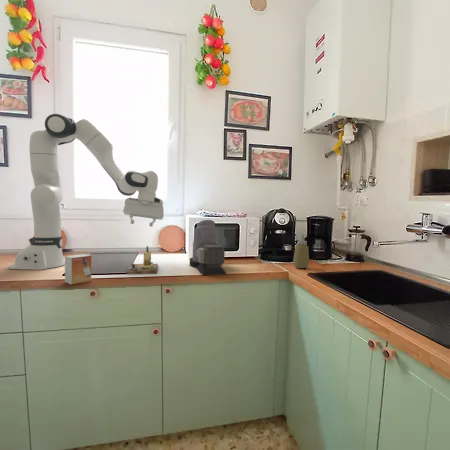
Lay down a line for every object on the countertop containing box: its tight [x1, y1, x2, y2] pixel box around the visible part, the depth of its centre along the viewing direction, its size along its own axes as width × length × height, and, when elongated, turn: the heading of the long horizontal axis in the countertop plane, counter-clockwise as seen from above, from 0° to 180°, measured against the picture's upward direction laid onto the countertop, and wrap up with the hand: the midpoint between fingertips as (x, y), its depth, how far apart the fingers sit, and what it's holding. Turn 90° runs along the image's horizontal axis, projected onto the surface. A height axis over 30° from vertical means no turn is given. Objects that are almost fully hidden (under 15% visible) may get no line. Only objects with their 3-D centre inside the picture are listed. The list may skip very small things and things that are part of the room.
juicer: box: [189, 219, 227, 277], centre depth 143 cm, size 30×16×24 cm, turn 17°
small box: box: [64, 253, 92, 285], centre depth 112 cm, size 8×6×10 cm
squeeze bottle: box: [293, 233, 310, 269], centre depth 149 cm, size 8×8×18 cm
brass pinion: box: [141, 245, 154, 269], centre depth 133 cm, size 6×6×10 cm
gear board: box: [126, 261, 159, 275], centre depth 135 cm, size 13×15×4 cm
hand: (141, 225), depth 145 cm, fingers open, 8 cm apart
